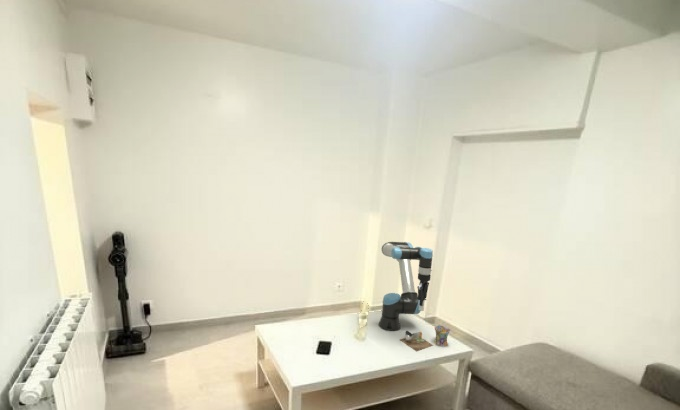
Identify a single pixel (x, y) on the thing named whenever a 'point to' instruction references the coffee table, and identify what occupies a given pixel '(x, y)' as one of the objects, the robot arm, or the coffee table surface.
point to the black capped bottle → (412, 336)
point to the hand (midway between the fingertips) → (421, 310)
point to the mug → (441, 336)
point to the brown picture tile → (417, 344)
